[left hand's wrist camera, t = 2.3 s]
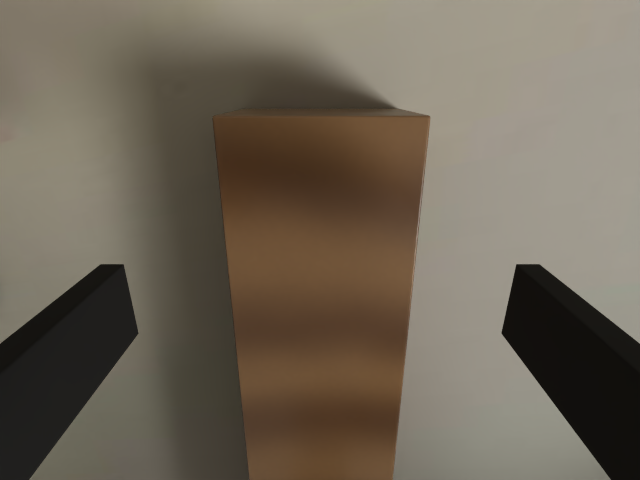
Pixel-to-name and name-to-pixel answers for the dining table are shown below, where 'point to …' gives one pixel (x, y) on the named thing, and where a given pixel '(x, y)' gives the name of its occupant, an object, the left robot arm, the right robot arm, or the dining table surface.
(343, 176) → the thick board
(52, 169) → the dining table surface
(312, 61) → the dining table surface
